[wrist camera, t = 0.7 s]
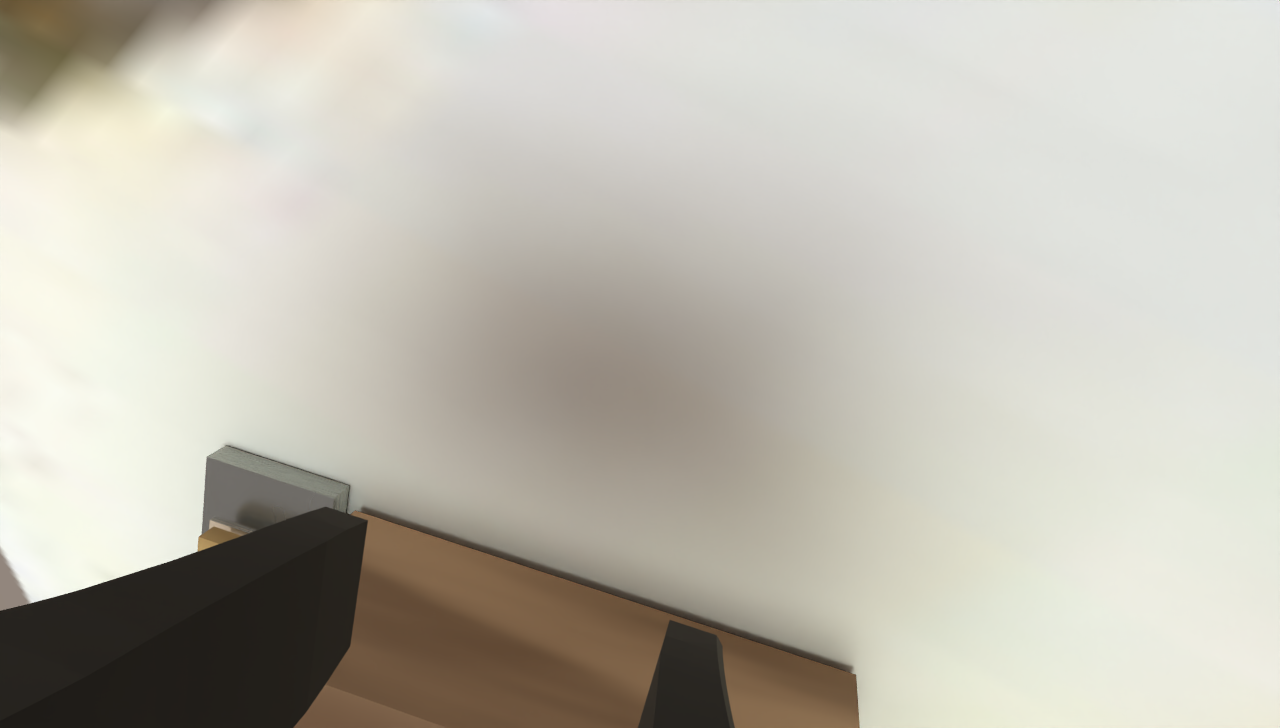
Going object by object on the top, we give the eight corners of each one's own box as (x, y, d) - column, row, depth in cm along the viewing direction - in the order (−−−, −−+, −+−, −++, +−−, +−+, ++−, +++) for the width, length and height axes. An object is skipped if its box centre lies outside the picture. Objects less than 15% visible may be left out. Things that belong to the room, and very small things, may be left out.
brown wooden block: (820, 763, 22) (821, 983, 17) (233, 562, 24) (59, 700, 19) (856, 674, 21) (869, 878, 16) (240, 472, 23) (58, 589, 18)
